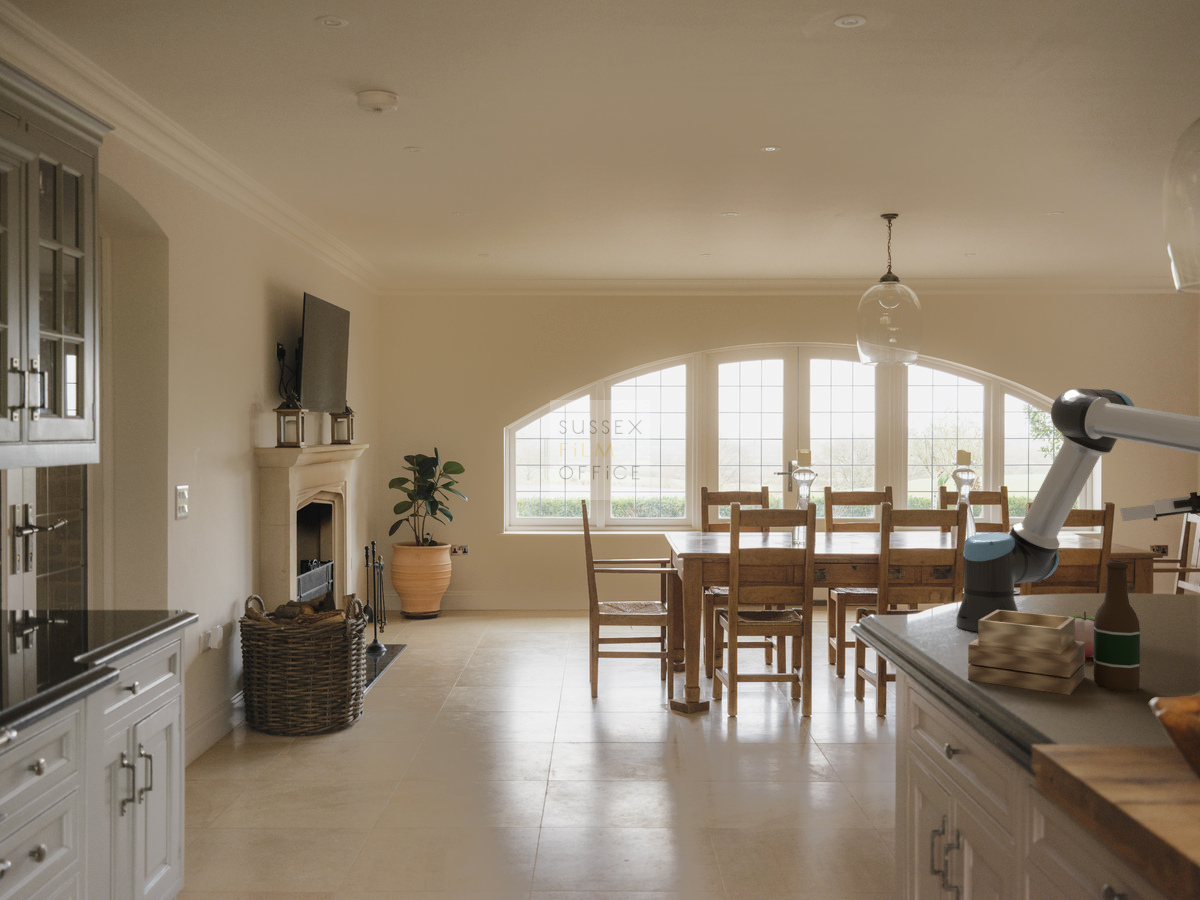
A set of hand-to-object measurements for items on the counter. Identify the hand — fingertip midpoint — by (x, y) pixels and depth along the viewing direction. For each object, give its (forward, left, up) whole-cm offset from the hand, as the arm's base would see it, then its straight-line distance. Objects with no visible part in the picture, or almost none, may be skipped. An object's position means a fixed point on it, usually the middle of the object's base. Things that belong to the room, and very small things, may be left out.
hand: (1137, 511), depth 186 cm
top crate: (-17, -19, -26) cm, 36 cm away
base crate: (-17, -19, -33) cm, 41 cm away
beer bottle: (-2, -15, -33) cm, 36 cm away
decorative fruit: (-11, +8, -33) cm, 36 cm away
